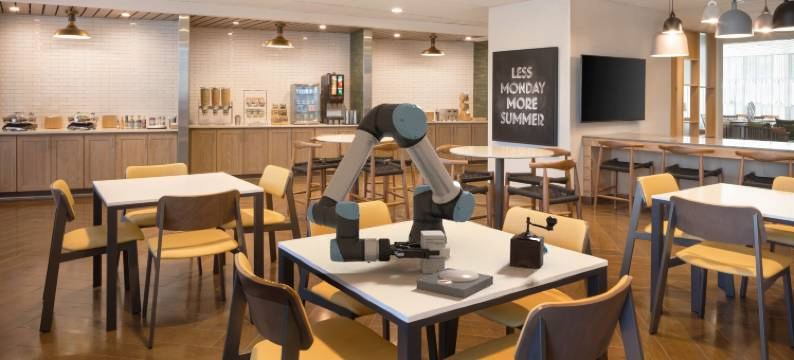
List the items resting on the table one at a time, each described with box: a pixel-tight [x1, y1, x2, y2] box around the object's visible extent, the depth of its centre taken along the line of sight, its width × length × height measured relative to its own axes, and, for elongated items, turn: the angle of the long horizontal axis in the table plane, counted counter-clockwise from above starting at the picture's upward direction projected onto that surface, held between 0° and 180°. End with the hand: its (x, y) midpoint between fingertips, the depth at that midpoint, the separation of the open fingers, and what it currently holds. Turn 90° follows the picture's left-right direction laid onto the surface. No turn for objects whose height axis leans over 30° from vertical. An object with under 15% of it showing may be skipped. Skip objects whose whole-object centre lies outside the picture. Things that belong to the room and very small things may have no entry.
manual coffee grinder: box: [508, 215, 558, 270], centre depth 213 cm, size 16×11×18 cm
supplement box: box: [419, 231, 446, 274], centre depth 205 cm, size 7×7×13 cm
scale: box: [416, 267, 494, 299], centre depth 188 cm, size 16×18×3 cm
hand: (447, 249), depth 205 cm, fingers closed on supplement box, 7 cm apart
